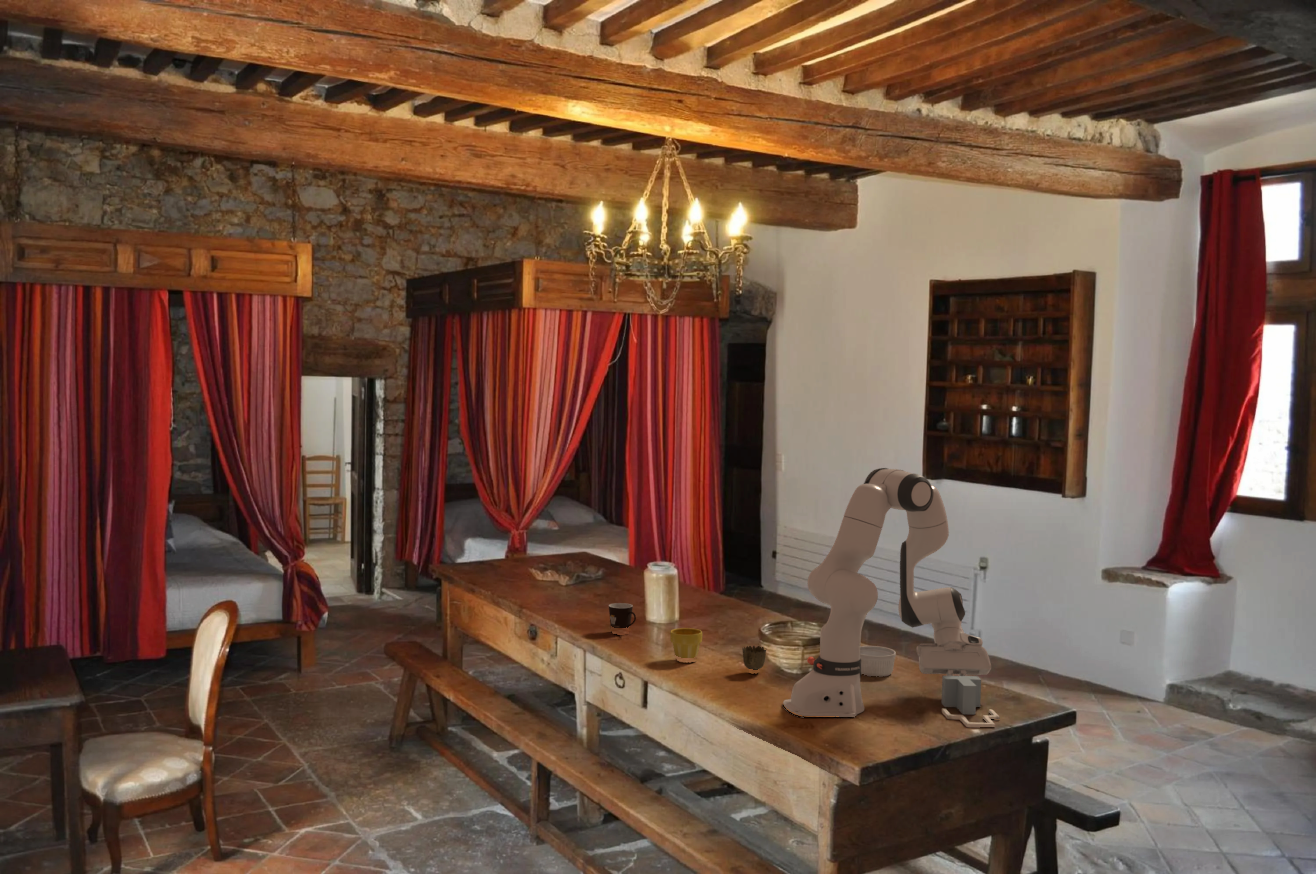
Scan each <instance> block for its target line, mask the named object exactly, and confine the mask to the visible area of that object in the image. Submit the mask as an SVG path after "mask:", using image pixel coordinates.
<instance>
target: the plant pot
mask: <svg viewBox="0 0 1316 874" xmlns="http://www.w3.org/2000/svg"><path fill="white" fill-rule="evenodd" d="M669 634H670V637H669V638H670V640H669V641H670V642H671V643H672V647H673V653H674V656H675V655H676V656H678V657H681V658H694V657H696V656H697V655H698V654H699V649H700V645H701V643H702V642H703V631H702V630H701V629H697V628H693V627H692V628H690V627H680V628H673V629H671V630H670V633H669ZM697 657H698V656H697Z"/></svg>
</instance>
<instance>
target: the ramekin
mask: <svg viewBox="0 0 1316 874" xmlns="http://www.w3.org/2000/svg"><path fill="white" fill-rule="evenodd" d="M896 656H897V653H896V651H895V650H894V649H892V648H889V647H886V646H878V645H877V646H876V645H862V646H861V645H860V658H861V667H862V669H861V675H862V674H864V675H863V676H865V675H867V676H866V677H871V676H876V677H875V678H882V677H883V676H884V677H887V676H890V675H891V674H892V673H893V671H894V667H895V666H894V665H895V661H896ZM877 676H879V677H877Z"/></svg>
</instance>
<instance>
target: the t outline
mask: <svg viewBox="0 0 1316 874" xmlns="http://www.w3.org/2000/svg"><path fill="white" fill-rule="evenodd" d="M941 713H942V714H943V715H944V716H945V718H946V719H947V720H960V722H962V723H963V725H964V726H965V727H966V728H980V727H995V728H996V723H994V720H991V719H1000V715H999V714H998V713H996V711H995V710H993V708H992V709H988V714H989V713H990V714H991V715H990V714H989V715H986V714H985V715H984V714H983V715H982V719H984V720H985V721H986V722H987V723H986V722H985V721H984V720H983V721H984V722H971V721H969V720H968V719H967V717H966V716H964V714H951V713H950V712H949V711H948V710H947V707H945V708H941ZM1000 720H1001V719H1000Z"/></svg>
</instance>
